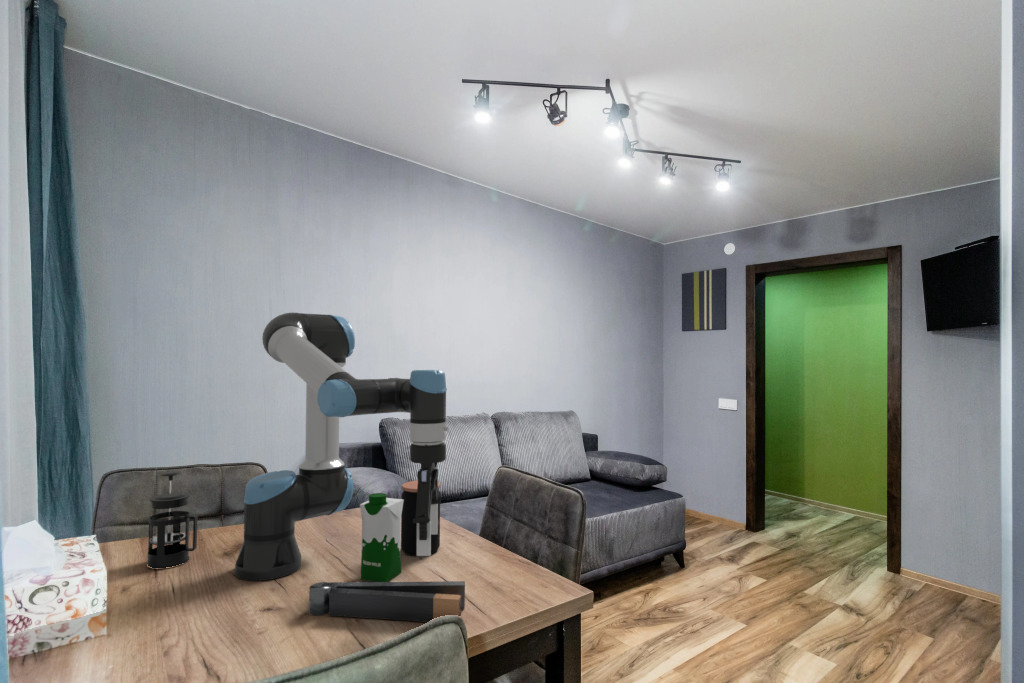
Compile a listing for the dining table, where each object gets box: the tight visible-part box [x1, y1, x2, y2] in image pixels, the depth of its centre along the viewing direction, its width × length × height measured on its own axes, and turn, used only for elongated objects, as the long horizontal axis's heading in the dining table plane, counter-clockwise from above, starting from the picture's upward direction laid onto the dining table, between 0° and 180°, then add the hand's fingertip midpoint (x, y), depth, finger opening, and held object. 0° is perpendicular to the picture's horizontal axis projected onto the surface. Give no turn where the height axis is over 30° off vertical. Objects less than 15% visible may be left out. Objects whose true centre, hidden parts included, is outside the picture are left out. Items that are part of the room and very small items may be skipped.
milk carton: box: [359, 492, 404, 582], centre depth 131 cm, size 9×9×20 cm
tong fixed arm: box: [308, 580, 466, 617], centre depth 113 cm, size 32×4×5 cm, turn 92°
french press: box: [146, 471, 198, 568], centre depth 139 cm, size 12×9×23 cm
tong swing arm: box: [328, 588, 462, 623], centre depth 109 cm, size 27×2×5 cm, turn 83°
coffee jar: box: [401, 480, 441, 557], centre depth 149 cm, size 11×11×18 cm
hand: (427, 544), depth 113 cm, fingers open, 13 cm apart
